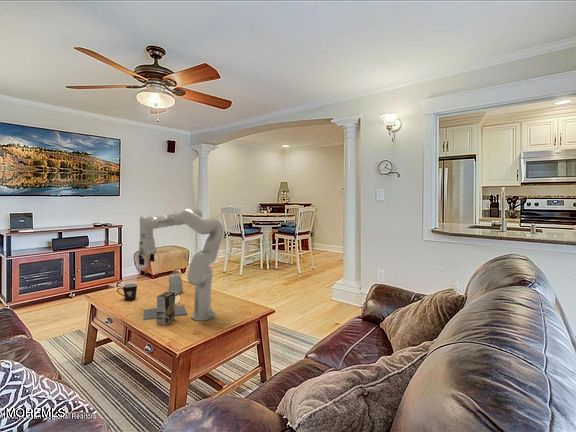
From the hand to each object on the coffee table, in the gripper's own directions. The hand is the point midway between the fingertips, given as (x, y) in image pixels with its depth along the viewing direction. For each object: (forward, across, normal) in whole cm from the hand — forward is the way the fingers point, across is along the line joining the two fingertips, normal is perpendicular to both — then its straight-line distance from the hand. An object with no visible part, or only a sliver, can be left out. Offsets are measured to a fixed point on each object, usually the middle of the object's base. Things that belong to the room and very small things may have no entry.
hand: (146, 263), depth 194 cm
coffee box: (+30, -12, -21) cm, 39 cm away
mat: (+30, -1, -13) cm, 33 cm away
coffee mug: (+30, +12, +24) cm, 40 cm away
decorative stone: (+30, +32, 0) cm, 44 cm away
